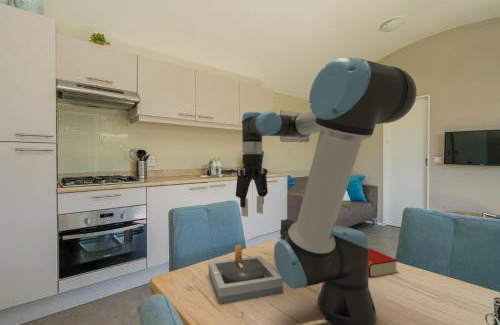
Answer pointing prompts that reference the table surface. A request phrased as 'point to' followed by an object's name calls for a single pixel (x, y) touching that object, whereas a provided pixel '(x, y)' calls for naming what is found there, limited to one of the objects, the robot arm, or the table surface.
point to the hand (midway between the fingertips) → (252, 214)
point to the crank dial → (241, 269)
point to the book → (380, 264)
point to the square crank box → (244, 282)
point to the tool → (285, 228)
